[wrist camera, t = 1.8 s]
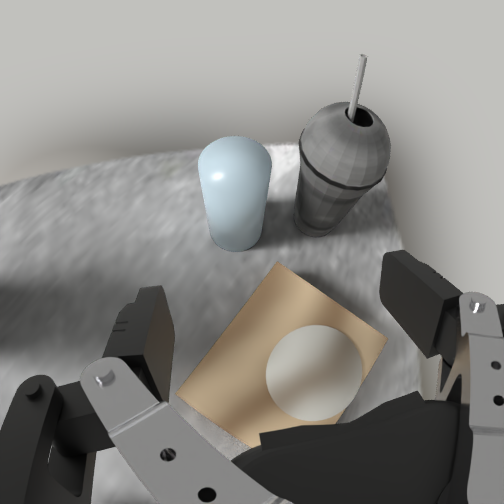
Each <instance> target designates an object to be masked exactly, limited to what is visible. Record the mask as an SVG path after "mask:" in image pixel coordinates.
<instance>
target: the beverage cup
mask: <svg viewBox="0 0 504 504" xmlns="http://www.w3.org/2000/svg"><path fill="white" fill-rule="evenodd" d="M366 61H367V56H366V55H364V54H360V56H359V62H358V67H357V72H356V77H355V82H354V87H353V92H352V96H351V101H350V102H339V103H334V104H331V105H328V106H326V107H324V108H322V109H320V110H319V111H318V112H317V113H316V114H315V115H314V116H313V117H312V118H311V119H310V120H309V122H308V123H307V125H306V128H305V129H304V130H303V132H302V134H301V137H300V139H299V150H300V172H299V179H298V186H297V192H296V199H295V206H294V209H295V212H294V221H295V223H296V226H297V227H298V228H299V230H300V231H301V232H303V233H304V234H306V235H309V236H312V237H321V236H325V235H326V234H328V233H329V232H330V231H331V230H332V229H333V228H334V227H336V225H337V224H338V223H339V222H340V221H341V220H342V219H343V217H344V216H345V215H346V214H347V213H348V212H349V211H350V209H351V208H352V207H353V206H354V205H355V204H356V202H357V201H358V200H359V199H360V198H361V197H362V195H363V194H365V193H366V192H368V191H369V190H370V189H371V188H372V187H374V186H375V185H376V184H378V183H379V182H381V180H382V178H383V177H384V175H385V173H386V170H387V166H388V163H389V159H390V148H391V144H390V138H389V135H388V132H387V129H386V127H385V125H384V124H383V122H382V121H381V120H380V118H379V117H378V116H377V115H376V114H375V113H374V112H372V111H371V110H370V109H368V108H366V107H364V106H362V105H359V104H357V103H358V99H359V94H360V89H361V85H362V81H363V76H364V71H365V66H366Z"/></svg>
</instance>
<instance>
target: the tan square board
mask: <svg viewBox="0 0 504 504" xmlns="http://www.w3.org/2000/svg"><path fill="white" fill-rule="evenodd" d="M387 340H388V338H387V337H385V336H384V335H382V334H381V333H380V332H378V331H377V330H375V329H374V328H372V327H371V326H370V325H368V324H367V323H365V322H364V321H362V320H361V319H360V318H358V317H357V316H355V315H354V314H352V313H351V312H349V311H348V310H347V309H345V308H344V307H342V306H341V305H339V304H338V303H337V302H335V301H334V300H332V299H331V298H329V297H328V296H326V295H325V294H324V293H322V292H321V291H319V290H318V289H316V288H315V287H314V286H312V285H311V284H309V283H308V282H306V281H305V280H303V279H302V278H301V277H299V276H298V275H296V274H295V273H293V272H292V271H290V270H289V269H288V268H286V267H285V266H283V265H282V264H280V263H279V262H276V264H275V265H274V266H273V268H272V269H271V270H270V272H269V273H268V274H267V276H266V277H265V278H264V280H263V281H262V282H261V284H260V285H259V286H258V288H257V289H256V290H255V292H254V293H253V294H252V296H251V297H250V298H249V300H248V301H247V302H246V304H245V305H244V306H243V307H242V309H241V310H240V311H239V313H238V314H237V315H236V317H235V318H234V319H233V321H232V322H231V323H230V324H229V326H228V327H227V328H226V330H225V331H224V332H223V334H222V335H221V336H220V337H219V339H218V340H217V341H216V343H215V344H214V345H213V346H212V348H211V349H210V350H209V352H208V353H207V354H206V355H205V357H204V358H203V359H202V361H201V362H200V363H199V364H198V366H197V367H196V368H195V369H194V371H193V372H192V373H191V374H190V376H189V377H188V378H187V380H186V381H185V382H184V383H183V385H182V386H181V387H180V388H179V390H178V391H177V392H176V393H175V394H176V395H177V396H179V397H180V398H181V399H182V400H184V401H185V402H186V403H188V404H189V405H190V406H192V407H193V408H194V409H196V410H197V411H198V412H200V413H201V414H202V415H204V416H205V417H206V418H208V419H209V420H211V421H212V422H213V423H215V424H216V425H218V426H219V427H221V428H222V429H223V430H225V431H226V432H228V433H229V434H231V435H232V436H234V437H235V438H237V439H238V440H240V441H241V442H243V443H245V444H246V445H248V446H249V447H251V448H254V447H256V446H258V445H261V443H260V437H259V433H263V432H269V431H275V430H280V429H286V428H291V427H296V426H300V425H326V424H335V423H336V422H337V421H338V419H339V418H340V416H341V415H342V413H343V412H344V410H345V409H346V408H347V406H348V405H349V404H350V403H351V402H352V400H353V399H354V397H355V396H356V394H357V392H358V390H359V388H360V386H361V384H362V383H363V381H364V380H365V378H366V376H367V375H368V373H369V371H370V370H371V368H372V366H373V365H374V363H375V361H376V359H377V358H378V356H379V354H380V352H381V351H382V349H383V347H384V345H385V343H386V342H387Z"/></svg>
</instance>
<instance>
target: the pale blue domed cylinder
mask: <svg viewBox="0 0 504 504" xmlns="http://www.w3.org/2000/svg"><path fill="white" fill-rule="evenodd" d="M271 168H272V161H271V157H270V155H269V153H268V151H267V150H266V149H265V148H264V147H263V146H262V145H261V144H260V143H258V142H257V141H255V140H252V139H250V138H247V137H241V136H229V137H224V138H221V139H218V140H216V141H214V142H212V143H211V144H209V145H208V146H207V147H206V148H205V149H204V150H203V152H202V153H201V155H200V157H199V161H198V170H199V176H200V181H201V187H202V192H203V198H204V203H205V208H206V214H207V219H208V224H209V229H210V234H211V237H212V239H213V241H214V242H215V243H216V244H217V245H218V246H219V247H221V248H222V249H224V250H227V251H231V252H240V251H244V250H247V249H249V248H251V247H252V246H253V245H255V244H256V242H257V241H258V240H259V238H260V236H261V232H262V225H263V219H264V213H265V206H266V200H267V194H268V187H269V181H270V175H271Z"/></svg>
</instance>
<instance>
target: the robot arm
mask: <svg viewBox="0 0 504 504" xmlns="http://www.w3.org/2000/svg"><path fill="white" fill-rule="evenodd" d="M379 293H380V299H381V302H382V304H383V305H384V307H385V308H386V309H387V310H388V311H389V313H390V314H391V315H392V316H393V317H394V318H395V320H396V321H397V322H398V323H399V324H400V326H401V327H402V328H403V329H404V330H405V332H406V333H407V334H408V335H409V337H410V338H411V339H412V340H413V341H414V343H415V344H416V345H417V346H418V348H419V349H420V350H421V351H422V353H423V354H424V355H425V356H426V358H430V357H433V356H435V355H438V354H440V355H441V359H440V362H439V369H438V380H437V389H436V397H435V400H423V398H422V397H421V395H420V394H419V392H418V391H415V392H413V393H410V394H407V395H405V396H402V397H399V398H396V399H393V400H391V401H388V402H385V403H383V404H381V405H380V406H378V407H376V408H375V409H373V410H371V411H370V412H368V413H366V414H364V415H363V416H361V417H359V418H357V419H356V420H354V421H352V422H350V423H345V424H326V425H300V426H296V427H291V428H286V429H280V430H275V431H269V432H263V433H259V437H260V443H261V445H258V446H256V447H254V448H251V449H249V450H247V451H245V452H243V453H241V454H240V455H238V456H237V457H235V458H234V459H232V460H231V461H230V460H228V459H227V458H226V457H225V456H224V455H222V454H221V453H220V452H219V451H218V450H217V449H216V448H214V447H213V446H212V445H211V444H210V443H209V442H208V441H207V440H206V439H204V438H203V437H202V436H201V435H200V434H199V433H198V432H197V431H196V430H195V429H194V428H193V427H192V426H191V425H190V424H189V423H187V422H186V421H185V420H184V419H183V418H182V417H181V416H180V415H179V414H178V413H177V412H176V411H175V410H174V409H173V408H172V407H171V406H170V405H169V404H168V402H169V391H170V380H171V369H172V359H173V350H174V341H175V334H174V326H173V322H172V318H171V315H170V311H169V308H168V304H167V300H166V296H165V293H164V289H163V287H162V286H153V287H145V288H140V290H139V293H138V295H137V298H136V301H135V303H130V304H127V305H126V306H125V307H124V308H123V309H122V310H121V311H120V312H119V315H118V317H117V320H116V322H115V323H116V324H115V325H114V327H113V330H112V331H113V332H112V333H111V335H110V338H109V340H108V343H107V346H106V349H105V351H104V354H103V357H102V358H101V359H98V360H96V361H94V362H92V363H91V364H89V365H88V366H87V367H86V368H85V369H84V371H83V372H82V374H81V377H80V381H78V382H74V383H70V384H67V385H63V386H59V387H57V386H56V384H55V383H54V381H53V380H52V379H51V378H50V377H49V376H46V375H36V376H33V377H30V378H28V379H27V380H25V381H24V382H23V383H22V384H21V385H20V386H19V388H18V389H17V391H16V393H15V396H14V398H13V400H12V403H11V405H10V407H9V410H8V412H7V415H6V417H5V420H4V422H3V425H2V428H1V430H0V504H91V496H92V485H93V476H94V467H95V460H96V452H97V451H100V450H104V449H108V448H112V447H117V449H118V450H119V452H120V453H121V455H122V456H123V458H124V459H125V460H126V462H127V463H128V465H129V466H130V467H131V469H132V470H133V472H134V473H135V474H136V476H137V477H138V478H139V480H140V481H141V482H142V483H143V485H144V486H145V487H146V488H147V490H148V491H149V492H150V493H151V495H152V496H153V497H154V498H155V500H156V501H157V502H158V503H159V504H504V304H501V305H496V304H495V302H494V301H493V300H492V299H491V298H489V297H488V296H486V295H484V294H481V293H477V292H467V293H464V294H463V293H462V292H461V291H460V290H459V289H457V288H456V287H455V286H454V285H453V284H451V283H450V282H449V281H447V280H446V279H445V278H443V276H441V275H440V274H439V273H436V271H435V270H434V269H432V268H431V267H430V266H429V265H427V264H425V263H422V262H420V261H418V260H417V259H415V258H414V257H413V256H412V255H410V254H409V253H408V252H406V251H405V250H399V251H393V252H387V253H385V254H384V256H383V261H382V271H381V280H380V290H379ZM51 445H52V448H51ZM50 449H51V452H50ZM49 454H50V457H49ZM48 458H49V461H48Z"/></svg>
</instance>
